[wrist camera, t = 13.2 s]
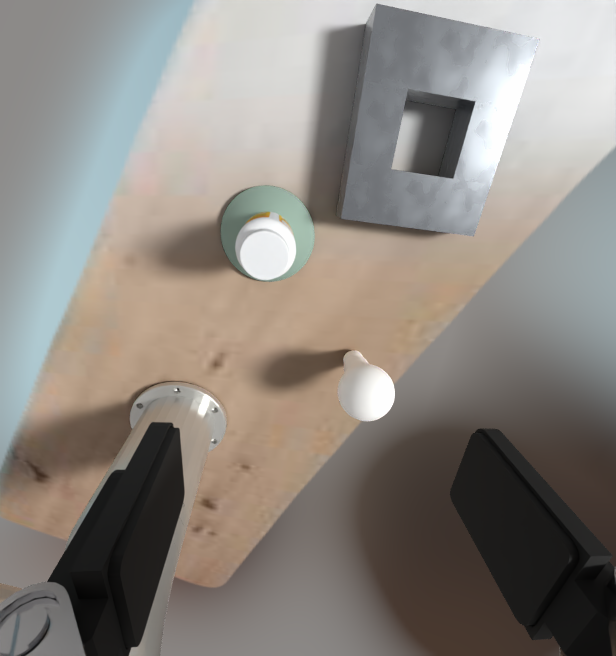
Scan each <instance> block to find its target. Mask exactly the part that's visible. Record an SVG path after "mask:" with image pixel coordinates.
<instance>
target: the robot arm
mask: <svg viewBox="0 0 616 656" xmlns="http://www.w3.org/2000/svg"><path fill="white" fill-rule="evenodd" d="M130 425H131V428H132V431H131V433H130V435H129V436H128V438H127V440H126V441H125V443H124V444H123V446H122V448H121V449H120V451H119V453H118V454H117V456H116V458H115V459H114V461H113V463H112V464H111V466H110V468H109V469H108V471H107V473H106V474H105V476H104V478H103V479H102V481H101V483H100V484H99V486H98V488H97V489H96V491H95V493H94V494H93V496H92V498H91V499H90V501H89V503H88V504H87V506H86V507H85V509H84V511H83V512H82V514H81V516H80V517H79V519H78V521H77V523H76V524H75V526H74V528H73V530H72V532H71V534H70V536H69V539H68V541H67V544H66V548H65V552H64V554H63V556H62V557H61V559H60V561H59V562H58V564H57V566H56V568H55V569H54V571H53V573H52V574H51V576H50V578H49V579H48V581H47V582H42V583H37V584H33V585H30V586H28V587H26V588H24V589H21V588H17V587H13V586H9V585H5V584H1V583H0V656H160V653H161V644H162V637H163V630H164V622H165V617H166V612H167V606H168V600H169V596H170V591H171V587H172V582H173V578H174V574H175V570H176V566H177V562H178V559H179V555H180V551H181V548H182V544H183V540H184V537H185V533H186V530H187V526H188V523H189V519H190V515H191V512H192V508H193V505H194V501H195V497H196V494H197V490H198V486H199V483H200V479H201V476H202V472H203V468H204V465H205V461H206V458H207V454H208V452H209V451H211V450H213V449H214V448H215V447H216V446H217V445H218V444H219V443H220V442H221V440H222V439H223V437H224V434H225V431H226V427H227V417H226V412H225V410H224V408H223V406H222V404H221V403H220V402H219V400H218V399H217V398H216V397H215V396H214V395H212V394H211V393H210V392H208V391H207V390H205V389H203V388H201V387H199V386H196V385H193V384H189V383H185V382H165V383H160V384H157V385H154V386H152V387H150V388H148V389H147V390H145V391H144V392H142V393H141V395H140V396H139V397H138V398H137V399H136V401H135V402H134V404H133V406H132V408H131V411H130ZM450 496H451V500H452V502H453V504H454V506H455V508H456V510H457V512H458V514H459V515H460V517H461V519H462V521H463V523H464V524H465V526H466V528H467V530H468V532H469V534H470V535H471V537H472V539H473V541H474V543H475V545H476V546H477V548H478V550H479V552H480V554H481V556H482V557H483V559H484V561H485V563H486V565H487V566H488V568H489V570H490V572H491V574H492V576H493V578H494V579H495V581H496V583H497V585H498V587H499V588H500V590H501V592H502V594H503V596H504V598H505V599H506V601H507V603H508V605H509V607H510V609H511V610H512V612H513V614H514V616H515V618H516V619H517V620H518V622H519V623H520V624H522V625H524V626H525V628H526V630H527V632H528V634H529V635H530V637H531V639H532V640H538V639H551V638H552V636H554V637H555V639H556V641H557V643H558V644H559V646H560V656H616V567H615V568H614V566H613V565H612V564H611V563H610V562H609V560H610V559H611V557H612V554H611V553H610V552H609V551H608V550H607V549H606V548H605V547H604V546H603V544H602V543H601V542H600V541H599V540H598V539H597V538H596V537H595V536H594V534H593V533H592V532H591V531H590V530H589V529H588V528H587V527H586V526H585V525H584V523H583V522H582V521H581V520H580V519H579V518H578V517H577V516H576V514H575V513H574V512H573V511H572V510H571V509H570V508H569V507H568V506H567V505H566V503H565V502H564V501H563V500H562V499H561V498H560V497H559V496H558V495H557V493H556V492H555V491H554V490H553V489H552V488H551V487H550V486H549V485H548V484H547V482H546V481H545V480H544V479H543V478H542V477H541V476H540V475H539V474H538V472H537V471H536V470H535V469H534V468H533V467H532V466H531V465H530V463H529V462H528V461H527V460H526V459H525V458H524V457H523V456H522V455H521V453H520V452H519V451H518V450H517V449H516V448H515V447H514V446H513V445H512V443H511V442H510V441H509V440H508V439H507V438H506V437H505V436H504V435H503V433H502V432H501V431H499V430H498V429H478V430H477V431H476V432H475V433H473V434H472V435H471V438H470V440H469V443H468V445H467V448H466V451H465V453H464V456H463V459H462V461H461V464H460V467H459V469H458V472H457V475H456V477H455V480H454V482H453V485H452V488H451V491H450Z"/></svg>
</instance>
